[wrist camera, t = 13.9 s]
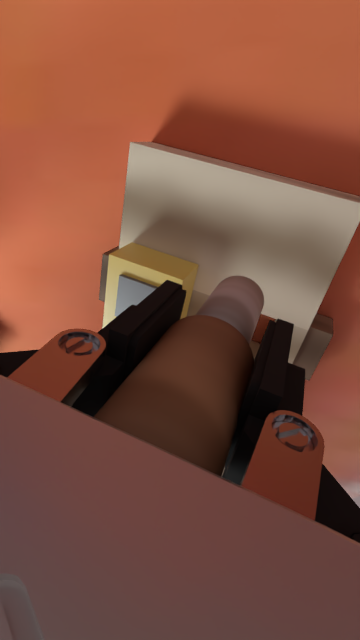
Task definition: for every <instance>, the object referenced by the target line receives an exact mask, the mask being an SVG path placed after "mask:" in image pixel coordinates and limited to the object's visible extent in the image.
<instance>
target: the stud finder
mask: <svg viewBox="0 0 360 640" xmlns="http://www.w3.org/2000/svg"><path fill="white" fill-rule="evenodd" d="M198 267H199V265H198V264H195V263H192V262H189V261H186V260H183V259H180V258H177V257H174V256H172V255H169V254H166V253H163V252H160V251H157V250H154V249H151V248H148V247H145V246H142V245H139V244H136V243H133V242H131V243H130V244H128V245H126V246H124V247H122V248H120V249H118V250H116V251H114V252H112V253H110V254H109V260H108V271H107V282H106V293H105V304H104V315H103V326H102V329H103V328H104V327H105V326H106V325H107V324H109V323H110V322H111V321H112V320H113V319H115V318H116V317H117V316H118V315H120V314H121V313H122V312H123V311H124V310H126V309H127V308H128V307H129V306H131V305H136V306H137V305H138V304H139V303H140V302H141V301H142V300H144V299H145V298H146V297H147V296H148V295H150V294H151V293H152V292H153V291H154V290H155V289H157V288H158V287H159V286H160V285H161V284H162V283H164V282H165V281H166V280H170V281H173V282H175V283H178V284H181V285H182V289H183V290H186V297H185V301H184V306H183V310H182V314H181V318H180V319H182V318H185V317H186V316H187V312H188V308H189V304H190V300H191V295H192V291H193V287H194V283H195V279H196V275H197V271H198Z"/></svg>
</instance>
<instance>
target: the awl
mask: <svg viewBox="0 0 360 640" xmlns="http://www.w3.org/2000/svg"><path fill="white" fill-rule="evenodd" d="M263 306H264V295H263V292H262V290H261V288H260V287H259V286H258V284H257V283H256V282H254V281H253V280H252V279H250V278H247V277H244V276H230V277H227V278H225V279H224V280H222V281H221V282H220V283H219V284H218V285H217V287H216V288H215V289H214V291H213V292H212V293H211V295H210V296H209V297H208V299H207V300H206V301H205V303H204V304H203V305H202V307H201V308H200V309H199V310H198V312H197V313H196V314H195V315H192V316H188V317H185V318H182V319H180V320H178V321H176V322H175V323H174V324H173V325H172V326H171V327H170V328H169V329H168V330H167V331H166V332H165V333H164V335H163V336H162V337H161V338H160V339H159V341H158V342H157V343H156V344H155V345H154V346H153V348H152V349H151V350H150V351H149V352H148V353H147V355H146V356H145V357H144V358H143V359H142V361H141V362H140V363H139V364H138V365H137V366H136V368H135V369H134V370H133V371H132V372H131V373H130V375H129V376H128V377H127V378H126V379H125V381H124V382H123V383H122V384H121V385H120V386H119V388H118V389H117V390H116V391H115V392H114V393H113V395H112V396H111V397H110V398H109V399H108V401H107V402H106V403H105V404H104V405H103V406H102V408H101V409H100V410H99V411H98V412H97V413H96V415H95V416H94V418H96V419H98V420H101V421H103V422H105V423H107V424H109V425H111V426H113V427H116V428H118V429H120V430H122V431H124V432H126V433H129V434H131V435H133V436H135V437H137V438H139V439H142V440H144V441H146V442H148V443H150V444H152V445H154V446H157V447H159V448H161V449H163V450H165V451H167V452H170V453H172V454H174V455H176V456H178V457H180V458H182V459H185V460H187V461H189V462H191V463H193V464H195V465H197V466H200V467H202V468H204V469H206V470H208V471H210V472H212V473H214V474H217V475H219V476H221V477H222V473H223V470H224V467H225V463H226V460H227V457H228V454H229V450H230V447H231V444H232V441H233V437H234V434H235V431H236V427H237V421H238V414H239V411H240V408H241V405H242V402H243V399H244V395H245V392H246V389H247V386H248V383H249V379H250V376H251V373H252V370H253V367H254V357H253V353H252V350H251V347H250V345H249V344H250V342H251V339H252V336H253V334H254V331H255V328H256V325H257V323H258V320H259V317H260V315H261V312H262V309H263Z"/></svg>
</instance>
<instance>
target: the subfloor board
mask: <svg viewBox="0 0 360 640" xmlns="http://www.w3.org/2000/svg"><path fill="white" fill-rule="evenodd" d="M359 222H360V196H356V195H353V194H349V193H345V192H341V191H337V190H334V189H330V188H326V187H322V186H318V185H314V184H311V183H307V182H303V181H299V180H295V179H292V178H288V177H284V176H280V175H276V174H272V173H269V172H265V171H261V170H257V169H253V168H250V167H246V166H242V165H238V164H234V163H230V162H227V161H223V160H219V159H215V158H211V157H208V156H204V155H200V154H196V153H192V152H188V151H185V150H181V149H177V148H173V147H169V146H166V145H162V144H158V143H154V142H130V149H129V158H128V168H127V177H126V186H125V196H124V205H123V214H122V224H121V233H120V243H119V246H117V247H115V248H114V249H112V250H110V251H108V252H106V253H104V254H103V258H102V270H101V282H100V295H99V300H101V301H104V302H105V293H106V282H107V271H108V260H109V254H110V253H112V252H114V251H116V250H118V249H120V248H122V247H124V246H126V245H128V244H130V243H131V242H133V243H136V244H139V245H142V246H145V247H148V248H151V249H154V250H157V251H160V252H163V253H166V254H169V255H172V256H174V257H177V258H180V259H183V260H186V261H189V262H192V263H195V264H198V265H199V267H198V271H197V275H196V279H195V283H194V287H193V291H192V295H191V300H190V304H189V308H188V312H187V316H186V317H188V316H192V315H195V314H196V313H197V312H198V310H199V309H200V308H201V307H202V305H203V304H204V303H205V301H206V300H207V299H208V297H209V296H210V295H211V293H212V292H213V291H214V289H215V288H216V287H217V285H218V284H219V283H220V282H221V281H222V280H224V279H225V278H227V277H230V276H244V277H247V278H250V279H252V280H253V281H254V282H256V283H257V284H258V286H259V287H260V288H261V290H262V292H263V295H264V306H263V309H262V312H261V314H263V315H266V316H269V317H272V318H274V319H276V320H275V322H276V321H277V319H281V320H284V321H287V322H290V323H293V324H294V328H293V334H292V340H291V347H290V353H289V359H288V363H291V364H294V365H296V366H299V367H302V368H304V369H305V379H306V380H310V378H311V376H312V374H313V372H314V370H315V369H316V367H317V365H318V363H319V361H320V359H321V357H322V355H323V353H324V351H325V349H326V348H327V346H328V344H329V342H330V340H331V338H332V336H333V319H332V318H329V317H326V316H323V315H320V314H317V311H318V309H319V306H320V304H321V302H322V300H323V298H324V296H325V294H326V292H327V290H328V287H329V285H330V283H331V281H332V279H333V277H334V275H335V273H336V271H337V268H338V266H339V264H340V262H341V260H342V258H343V256H344V254H345V252H346V249H347V247H348V245H349V243H350V241H351V239H352V237H353V235H354V233H355V230H356V228H357V226H358V224H359ZM249 345H250V347H251V350H252V353H253V357H254V359H255V357H256V354H257V352H258V349H259V347H260V343H257V342H255V341H252V340H251V342H250V344H249ZM224 469H225V467H224ZM223 472H224V470H223ZM222 475H223V473H222Z"/></svg>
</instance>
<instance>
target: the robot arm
mask: <svg viewBox="0 0 360 640" xmlns="http://www.w3.org/2000/svg"><path fill="white" fill-rule="evenodd" d="M185 297H186V290H183V289H182V285H181V284H178V283H175V282H173V281H170V280H166V281H165V282H164V283H162V284H161V285H160V286H159V287H158V288H157V289H155V290H154V291H153V292H152V293H151V294H150V295H148V296H147V297H146V298H145V299H144V300H142V301H141V302H140V303H139V304H138V305H137V306H136V305H131V306H129V307H128V308H127V309H126V310H124V311H123V312H122V313H121V314H120V315H118V316H117V317H116V318H115V319H113V320H112V321H111V322H110V323H109V324H107V325H106V326H105V327H104V328H103V329H101V330H100V331H99V332H98V333H96V332H94V331H91V330H87V329H69V330H66V331H62V332H61V333H59V334H57V335H56V336H55V337H54V338H52V339H51V340H50V341H49V342H48V343H47V344H45V345H44V346H43V347H42V348H41V349H40V350H30V351H18V352H7V353H0V640H360V508H359V507H358V506H357V505H356V504H355V502H354V501H353V500H352V498H351V497H350V496H349V495H348V494H347V493H346V491H345V490H344V489H343V488H342V487H341V485H340V484H339V483H338V482H337V481H336V479H335V478H334V477H333V476H332V475H331V473H330V472H329V471H328V470H327V469H326V467H325V466H324V465H323V464H322V461H323V453H324V439H323V437H322V435H321V433H320V431H319V430H318V429H317V428H316V426H315V425H314V424H312V423H311V422H310V421H309V420H308V419H306V418H305V417H303V416H302V411H303V398H304V384H305V369H304V368H302V367H299V366H296V365H294V364H291V363H288V359H289V353H290V347H291V340H292V334H293V328H294V324H293V323H290V322H287V321H284V320H281V319H277V321H276V322H274V321H271V320H270V321H269V324H268V326H267V329H266V331H265V334H264V336H263V339H262V342H261V344H260V347H259V349H258V352H257V354H256V357H255V359H254V367H253V370H252V373H251V376H250V379H249V383H248V386H247V389H246V392H245V395H244V399H243V402H242V405H241V408H240V411H239V414H238V421H237V427H236V431H235V434H234V437H233V441H232V444H231V447H230V450H229V454H228V457H227V460H226V463H225V469H224V472H223V475H222V477H221V476H219V475H217V474H214V473H212V472H210V471H208V470H206V469H204V468H202V467H200V466H197V465H195V464H193V463H191V462H189V461H187V460H185V459H182V458H180V457H178V456H176V455H174V454H172V453H170V452H167V451H165V450H163V449H161V448H159V447H157V446H154V445H152V444H150V443H148V442H146V441H144V440H142V439H139V438H137V437H135V436H133V435H131V434H129V433H126V432H124V431H122V430H120V429H118V428H116V427H113V426H111V425H109V424H107V423H105V422H103V421H101V420H98V419H96V418H94V416H95V415H96V413H97V412H98V411H99V410H100V409H101V408H102V406H103V405H104V404H105V403H106V402H107V401H108V399H109V398H110V397H111V396H112V395H113V393H114V392H115V391H116V390H117V389H118V388H119V386H120V385H121V384H122V383H123V382H124V381H125V379H126V378H127V377H128V376H129V375H130V373H131V372H132V371H133V370H134V369H135V368H136V366H137V365H138V364H139V363H140V362H141V361H142V359H143V358H144V357H145V356H146V355H147V353H148V352H149V351H150V350H151V349H152V348H153V346H154V345H155V344H156V343H157V342H158V341H159V339H160V338H161V337H162V336H163V335H164V333H165V332H166V331H167V330H168V329H169V328H170V327H171V326H172V325H173V324H174V323H175V322H176V321H178V320H180V318H181V314H182V310H183V306H184V301H185Z"/></svg>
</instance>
